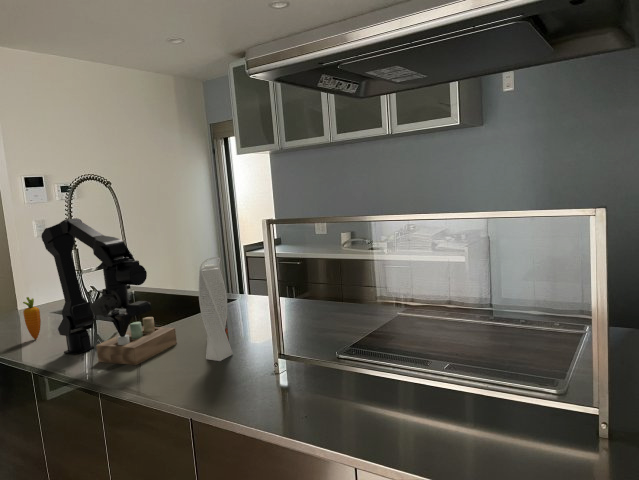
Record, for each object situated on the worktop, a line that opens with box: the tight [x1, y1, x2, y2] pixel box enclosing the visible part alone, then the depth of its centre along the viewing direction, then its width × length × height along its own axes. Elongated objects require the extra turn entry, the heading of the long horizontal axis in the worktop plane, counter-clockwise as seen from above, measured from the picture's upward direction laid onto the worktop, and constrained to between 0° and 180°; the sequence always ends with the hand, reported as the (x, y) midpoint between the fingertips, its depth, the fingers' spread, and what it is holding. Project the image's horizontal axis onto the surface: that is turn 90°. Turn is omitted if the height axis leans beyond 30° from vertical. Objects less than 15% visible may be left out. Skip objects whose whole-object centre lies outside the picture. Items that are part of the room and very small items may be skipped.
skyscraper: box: [198, 256, 234, 362], centre depth 141 cm, size 8×8×28 cm
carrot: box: [22, 296, 42, 340], centre depth 175 cm, size 5×5×15 cm
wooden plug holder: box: [95, 326, 178, 366], centre depth 152 cm, size 14×18×5 cm
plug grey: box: [117, 335, 130, 345], centre depth 147 cm, size 3×3×6 cm
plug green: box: [129, 321, 143, 339], centre depth 151 cm, size 3×3×6 cm
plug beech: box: [142, 316, 156, 333], centre depth 156 cm, size 3×3×6 cm
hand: (122, 336), depth 146 cm, fingers closed, pressing on plug grey
